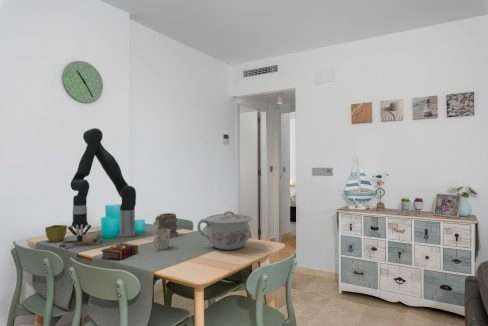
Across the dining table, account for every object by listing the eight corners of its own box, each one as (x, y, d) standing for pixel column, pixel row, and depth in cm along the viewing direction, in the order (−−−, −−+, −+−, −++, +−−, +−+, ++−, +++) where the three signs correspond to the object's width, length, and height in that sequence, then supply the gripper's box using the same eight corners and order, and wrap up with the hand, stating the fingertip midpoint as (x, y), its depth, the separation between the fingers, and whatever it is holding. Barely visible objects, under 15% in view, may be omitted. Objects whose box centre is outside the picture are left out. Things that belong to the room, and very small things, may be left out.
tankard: (165, 232, 221) (165, 211, 221) (181, 234, 217) (181, 212, 217) (146, 239, 203) (146, 215, 203) (163, 240, 198) (163, 216, 198)
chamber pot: (261, 245, 187) (261, 210, 187) (233, 257, 165) (233, 217, 164) (223, 238, 203) (223, 206, 203) (193, 248, 180) (193, 212, 180)
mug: (173, 246, 184) (173, 229, 184) (160, 252, 172) (160, 234, 172) (160, 245, 187) (160, 228, 187) (147, 251, 175) (147, 233, 175)
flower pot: (67, 239, 202) (67, 225, 202) (58, 242, 193) (58, 228, 193) (54, 239, 203) (54, 224, 203) (44, 242, 194) (44, 227, 194)
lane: (101, 240, 199) (101, 232, 199) (100, 244, 189) (100, 236, 189) (62, 243, 192) (62, 235, 191) (59, 247, 182) (59, 239, 182)
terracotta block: (93, 242, 195) (93, 235, 195) (92, 244, 190) (92, 237, 190) (84, 242, 193) (84, 236, 193) (83, 244, 188) (83, 238, 188)
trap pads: (88, 240, 199) (88, 239, 199) (71, 249, 180) (71, 247, 180) (80, 240, 199) (80, 239, 199) (62, 249, 180) (62, 247, 180)
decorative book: (138, 253, 173) (138, 243, 173) (117, 261, 157) (117, 251, 157) (121, 251, 176) (121, 242, 176) (99, 259, 161) (99, 249, 161)
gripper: (92, 211, 196) (92, 239, 196) (68, 212, 192) (68, 241, 192) (91, 213, 189) (91, 242, 189) (66, 214, 184) (66, 244, 184)
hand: (79, 241), depth 190 cm, fingers closed
